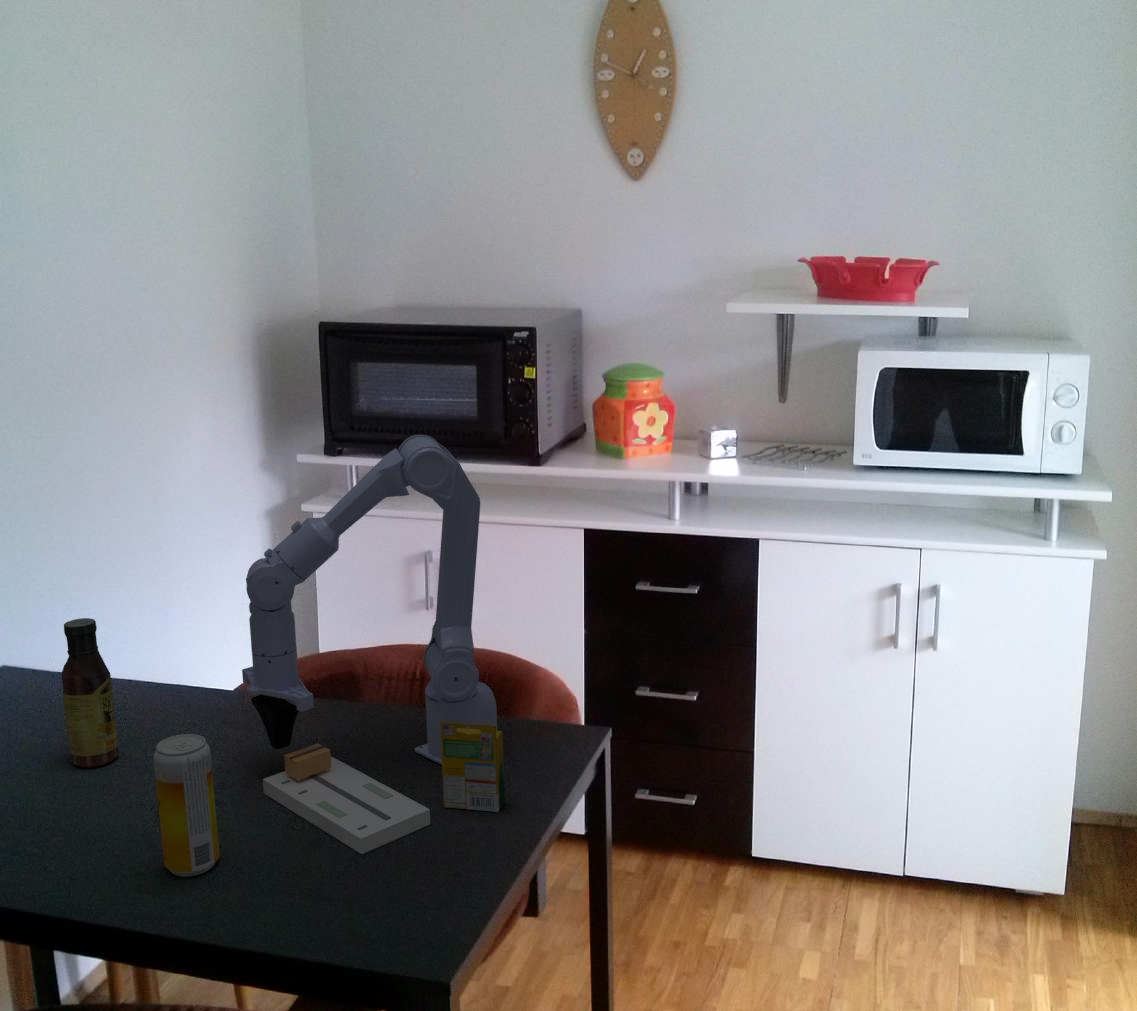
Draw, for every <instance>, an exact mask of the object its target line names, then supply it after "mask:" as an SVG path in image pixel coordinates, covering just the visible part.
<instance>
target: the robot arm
mask: <svg viewBox="0 0 1137 1011" xmlns="http://www.w3.org/2000/svg"><path fill="white" fill-rule="evenodd" d="M409 486H410V487H411V488H412V489H413V490H414V491H416V492H417V493H420V494H421V495H424V496H426V497H428V498H430V499H432V500H433V501H434V502H435V503H436V505H437V506H438V507H439V508H441V510H442V519H441V520H442V524H441V536H440V549H439V550H440V552H439V567H438V582H437V594H436V595H437V597H436V613H435V620H434V624H433V625H432V630H431V637H430V640H429V643H428V644H427V646H426V647H425V649H424V652H423V664H424V667H425V669H426V670H427V672H428V673H429V675H430V679H429V682H428V684H427V685H426V686H425V690H424V694H425V717H426V737H427V738H426V740H427V742H426V743H425V744H422V745H420V746H419V745H418V746H416V747H415V748H414V752H415V753H416V754H418V755H421V756H423V757H425V758H427V759H429V760H431V761H433V762H434V763H437V764H438V765H441V766H442V750H441V722H455V723H468V724H484V725H496V731H498V716H497V713H498V712H497V708H498V707H497V702H496V699H495V698H496V697H495V695H494V692H493V691H492V689H491V688H490V687H489V686H488V685H487V684H485V683H484V682H481V681H479V680H480V673H479V669H478V667H477V666H476V662H475V658H474V651H475V645H474V638H473V631H472V625H473V624H472V623H473V610H474V609H473V607H474V594H475V581H476V571H477V570H476V568H477V555H478V554H477V553H478V541H479V530H480V529H479V528H480V516H481V514H480V513H481V497H480V496H479V494H478V493H477V491H476V489H475V487H474V485H473V484H472V482H471V480H470V479H469V478H468V476H467V474H466V472H465V471H464V469H463V467H462V464H461V463H460V462H459V461H458V460H457V459H456V458H455V457H454V456H453V455H452V453H451V452H450V451H449V450H448V449H447V448H446V447H445V446H443V445H442V444H441V443H440V442H438V441H437V439H435V438H433V437H432V436H430V435H428V434H427V435H426V434H415V435H412V436H408V437H407V438H406V439H404V441H402V443H401V444H400V446H399V448H398V449H397V448H394V449H393V450H391V451H389V452H388V453H387V454H386V455H384V456H383V458H382V459H380V460H379V461H378V462H377V464H375V465H374V466H373V467H372V468H371V469H370V470H369V471H368V472H367V473H366V474H365V475H364V476H362V478H361V479H360V480H359V481H358V482H357V483H356V484H354V486H353V487H352V488H351V489H350V490H349V491H347V493H346V494H344V496H343V497H341V498H340V500H338V501H337V503H335V505H334V506H332V508H330V509H329V511H328V512H326V513H325V514H324V515H323V516H322V517H307V518H305V519H304V521H302V522H300V521H299V520H296V521H295V522H294V523H293V524H292V525H291V527H290V529H291V531H292V532H290V533H289V535H287V536H286V537H285V538H284V539H283V540H282V541H280V542H279V543H278V544H277V545H276V546H275V547H274V548H273V549H271V548H268V549H266V550H265V551H264V553H263V555H264V557H261V558H259V559H257V560H255V561H254V562H253V563H252V564H251V565H250V567H249V568H248V571H247V575H246V577H245V584H246V594H247V596H248V597H247V598H248V599H249V601H250V602H249V605H248V608H249V609H248V610H249V614H250V615H249V618H248V621H249V635H250V645H251V646H250V647H251V661H252V666H249V667H246V668H242V669H241V673H242V683H243V684H246V685H249V686H247V687H246V693H248V695H251V696H252V697H251V699H250V700H251V701H250V702H251V704H252V706H254V709H256V711H257V713H258V714H259V716H260V719H261V721H262V723H263V725H264V728H265V731H266V733H267V738H268V741H269V743H270V745H271V748H273V749H274V750H276V751H277V750H280V749H281V750H282V749H283V748H286V747H289V746H291V741H292V739H293V738H292V736H293V732H294V728H295V727H294V726H295V723H296V720H297V716H298V714H299V712H305V711H307V710H310V709H314V694H313V692H310V691H309V690H308V688H307V687H306V686H305V684H304V682H303V681H302V679H301V678H300V677H299V668H298V650H297V648H298V647H297V637H296V620H295V614H294V612H293V610H292V600H293V597H294V594H295V587H296V586H297V585H300V584H302V583H304V582H305V581H306V580H307V579H309V577H310V576H311V575H313V574H314V573H315V572H316V571H317V570H318V569H320V568H321V566H323V564H325V563H326V562H327V561H328V560H329V559H330V558H332V556H334V555H335V554H336V553H337V552H338V551H339V548H340V546H339V545H340V543H339V542H340V537H341V535H343V534H344V533H345V532H346V531H347V530H349V529H350V528H351V527H352V526H353V525H354V524H355V523H357V522H358V521H359V520H360V519H362V518H363V517H364V516H365V515H366V514H367V513H369V512H370V511H371V510H372V509H374V507H376V506H378V505H379V503H381V502H383V500H385V499H387V498H392V497H407V496H410V493H409V491H408V489H407V487H409ZM463 729H472V728H470V727H465V728H463ZM477 730H479V729H477Z"/></svg>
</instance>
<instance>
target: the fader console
mask: <svg viewBox="0 0 1137 1011" xmlns="http://www.w3.org/2000/svg"><path fill="white" fill-rule="evenodd" d="M262 788H263V794H264V795H265V796H267V797H269V798H271V799H272V800H274V801H275V802H277V803H278V804H280V805H282V806H283V807H285V808H286V809H288V810H290V811H291V812H293V813H295V814H296V815H298V816H299V817H301V818H302V819H304V820H305V821H307V822H308V823H310V824H311V825H314V826H315V827H317V828H319V829H320V830H322V831H323V832H325V833H327V834H329V835H330V836H331V837H333V838H335V839H336V840H338V841H340V842H341V843H342V844H345V845H346V846H348V847H349V848H351V849H352V850H354V851H355V852H358V853H359V854H360V855H364V854H366V853H368V852H371V851H373V850H375V849H378V848H380V847H382V846H384V845H386V844H389V843H391V842H393V841H397V840H398V839H400V838H402V837H405V836H407V835H409V834H411V833H413V832H416V831H418V830H420V829H424V828H425V827H427V826H429V825H431V814H430V813H431V811H430V808H428V807H426V806H424V805H423V804H421V803H418V802H417V801H415V800H413V799H411V798H409V797H407V796H406V795H404V794H402V793H400V792H398V791H396V790H394V789H393V788H391V787H389V786H387V785H385V784H383V783H382V782H379V781H378V780H376V779H374V778H372V777H370V776H369V775H366V774H364V773H363V772H362V771H359V770H358V769H356V768H354V767H352V766H350V765H348V764H346V763H344V762H342V761H341V760H339V759H337V758H335V757H333V756H331V768H330V769H327V770H324V771H322V772H319V773H316V774H314V775H311V776H308V777H306V778H303V779H300V780H297V779H295V778H293V777H292V776H290V775H288V774H286V771H285V770H283V771H281V772H278V773H276V774H274V775H271V776H270V775H269V776H268V777H265V778H263V779H262Z"/></svg>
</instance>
